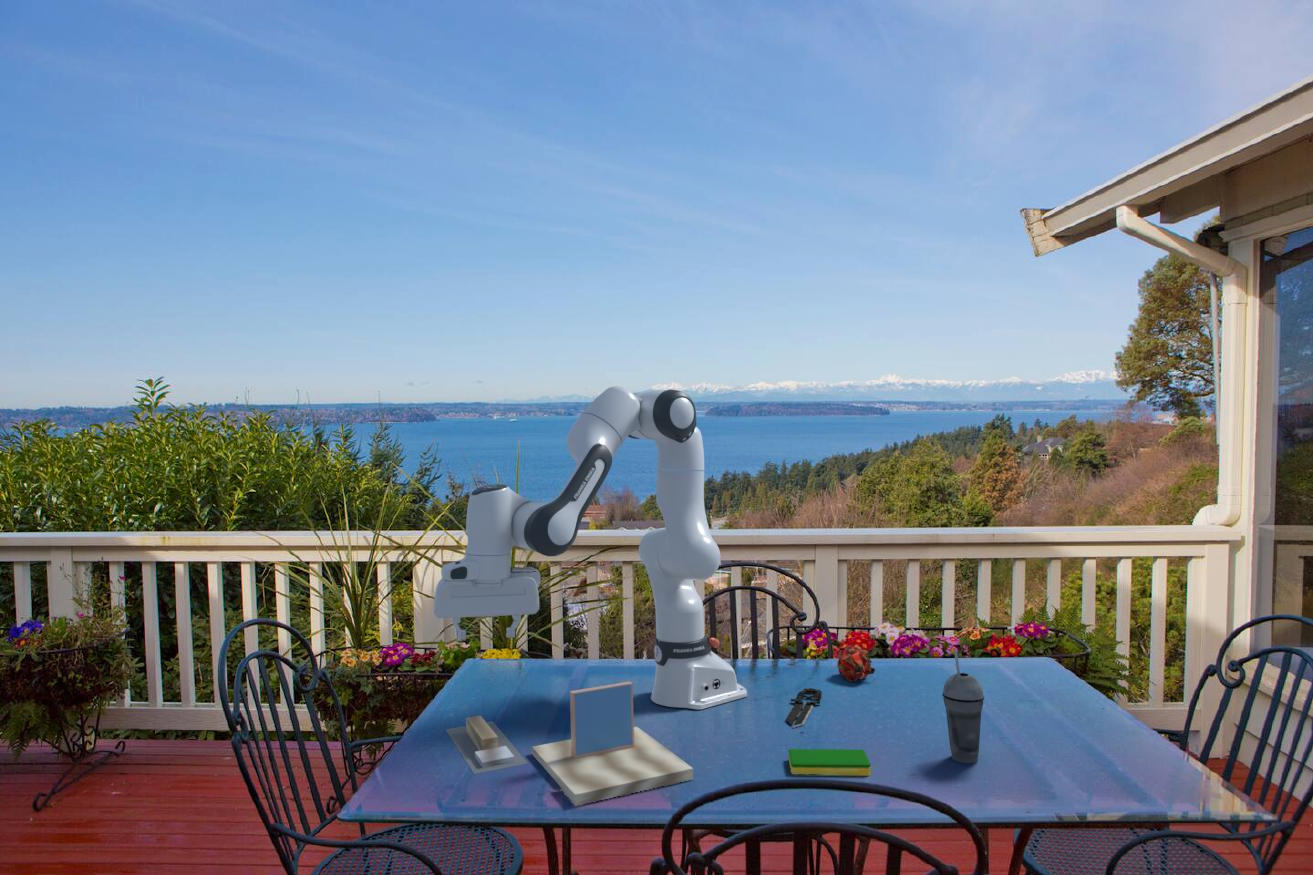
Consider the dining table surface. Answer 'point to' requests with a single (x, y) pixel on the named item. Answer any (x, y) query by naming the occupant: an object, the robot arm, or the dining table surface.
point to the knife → (807, 708)
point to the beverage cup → (963, 714)
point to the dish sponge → (829, 762)
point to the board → (612, 769)
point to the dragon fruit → (854, 663)
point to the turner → (487, 743)
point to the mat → (469, 749)
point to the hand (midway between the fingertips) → (486, 638)
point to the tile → (601, 719)
